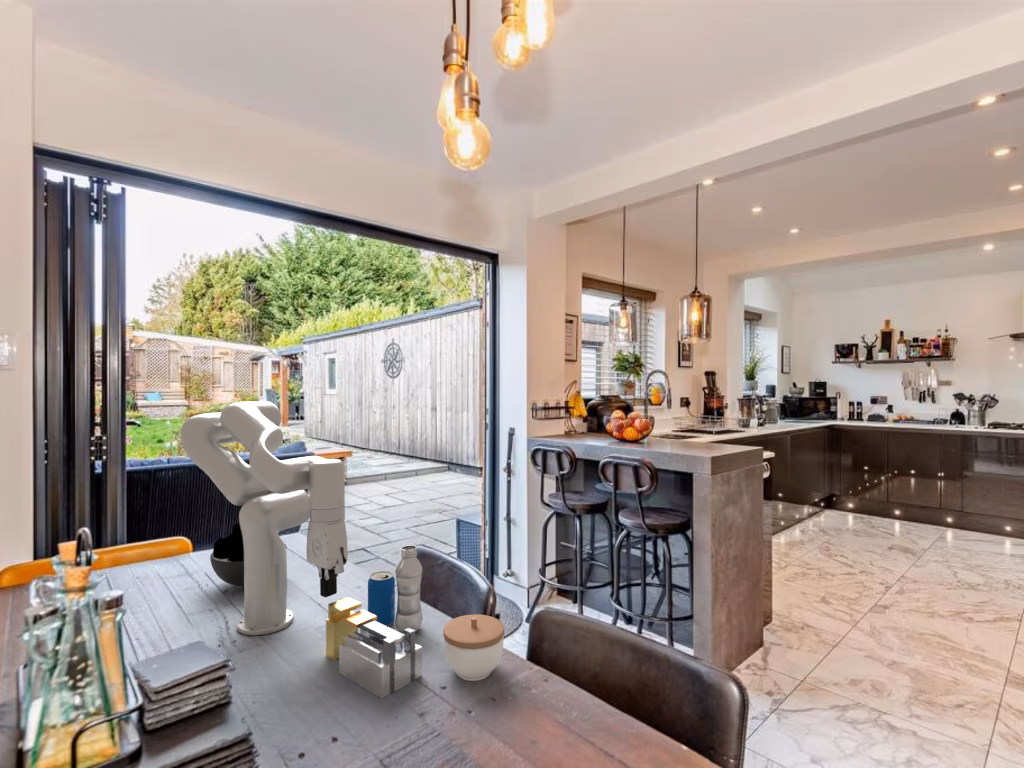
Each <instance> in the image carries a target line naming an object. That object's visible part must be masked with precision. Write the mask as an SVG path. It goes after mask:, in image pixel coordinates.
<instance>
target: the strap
mask: <svg viewBox="0 0 1024 768" xmlns="http://www.w3.org/2000/svg"><path fill="white" fill-rule="evenodd" d="M375 620H377V616H376V615H374V614H371V613H369V612H368V610H365V609H361V610H358V611H355V613H353V614H351V615H348V616H346V617H343V622H345V623H347V624H349V625H351V626H353V627H355V628H358V629H359V630H360V629H362V630H364V631H366V632H368V633H370V634H372V635H374V636H376V637H378V638H380V639H382V640H383V639H386V638H390V639H393V640H395V645H396V644H398V643H400V642H403V641H405V640H407V639H408V636H407V634H405V635H404V633H401V632H399V631H398V630H397V629H393V628H391V627H390V626H388V627H387V626H385V625H383V624H381V623H379V622H376V621H375Z"/></svg>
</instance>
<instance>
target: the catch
mask: <svg viewBox="0 0 1024 768" xmlns="http://www.w3.org/2000/svg"><path fill="white" fill-rule="evenodd" d="M327 605H328V606H327V607H328V611H327V613H328V614H327V617H328V618H326V620H325V621H326V623H325V626H326V627H325V640H326V641H325V645H326V646H325V656H326V657H327V656H328V657H327V658H329V657H330V658H331V660H332V659H333V660H332V661H336V660H338V659H337V658H339V644H340V643H343V642H345V635H350V636H352V637H353V632H354V631H356V632H358V633H359V628H355V627H353V626H351V625H349V624H347V623H345V622H343V617H346V616H348V615H351V614H353V613H356V611H354V610H357V609H359V608H362V602H360V601H358V600H356V599H354V598H352V597H349V596H347V597H344V598H342V599H339V600H336V601H333V602H331V603H328V604H327ZM330 658H329V659H330Z"/></svg>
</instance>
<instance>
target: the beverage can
mask: <svg viewBox="0 0 1024 768" xmlns="http://www.w3.org/2000/svg"><path fill="white" fill-rule="evenodd" d="M395 597H396V577H394V573H392V572H391V571H387V570H386V571H385V570H382V571H375V572H373V573H371V574H370V575H369V579H368V580H367V612H369V613H371V614H374V615H376V616H377V620H375V621H376V622H379V623H381V624H383V625H385V626H388V627H390V626H391V625H392V624H393V623H395V618H396V611H395V610H396V605H395V604H396V598H395ZM389 625H390V626H389Z"/></svg>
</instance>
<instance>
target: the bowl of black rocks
mask: <svg viewBox="0 0 1024 768" xmlns="http://www.w3.org/2000/svg"><path fill="white" fill-rule="evenodd" d="M231 529H232V532H231V533H230V534H229V535H228V536H226V537H224V538H223V537H219V538H217V539H216V541H215V542H214V544H213V549H212V550H213V551H212V553H210V556H209V559H210V565H211V567H212V570H213V572H214V573H215V575H216V576H217V577H218V578H219V579H220V580H221V581H223V582H225V583H226V584H228V585H231V586H234V587H238V588H240V587H241V588H244V544H243V536H242V531H241V526H240V522H236V523H235V524H234V525H233V526H232V527H231ZM284 544H285V546H286V550H287V544H286V543H284Z"/></svg>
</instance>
